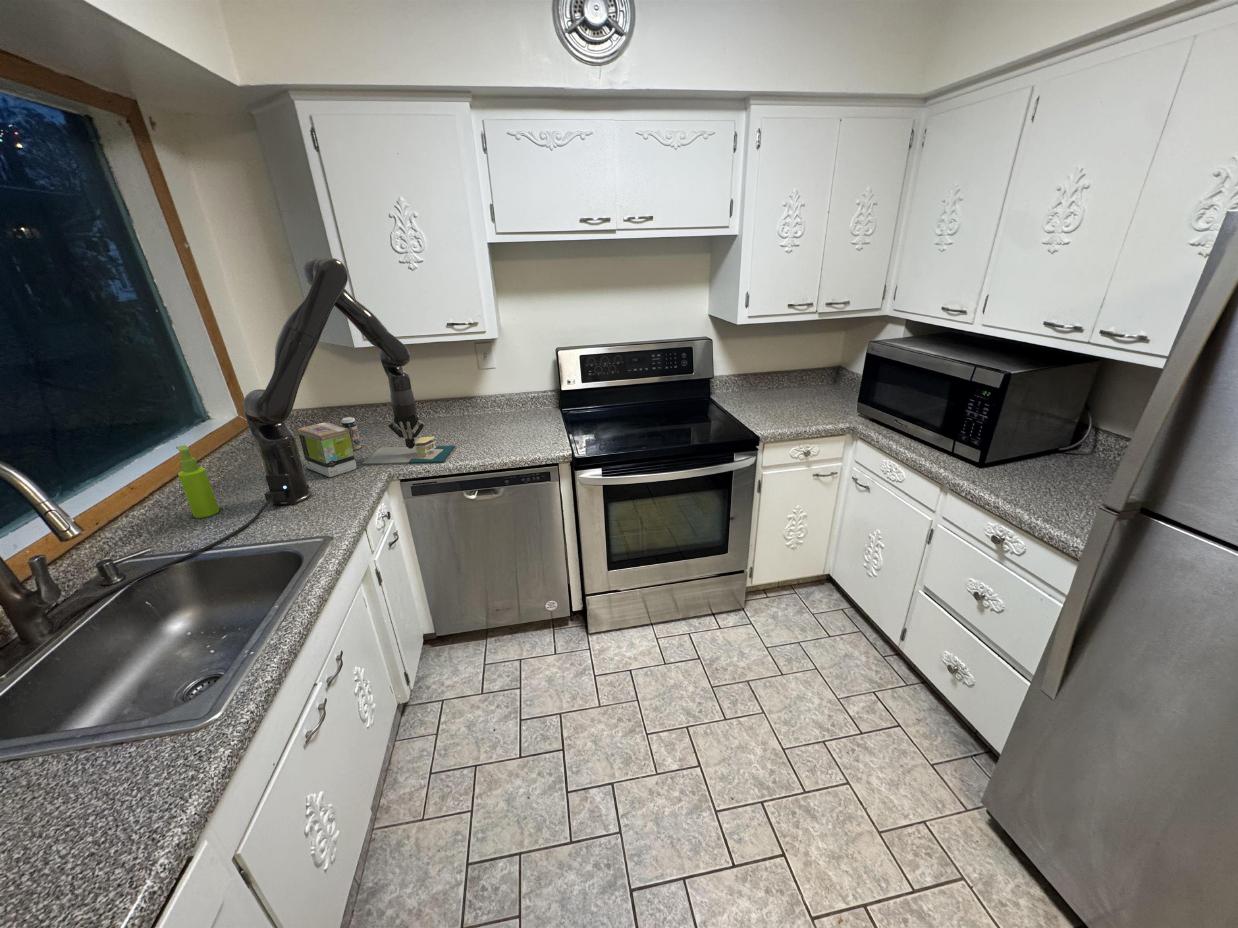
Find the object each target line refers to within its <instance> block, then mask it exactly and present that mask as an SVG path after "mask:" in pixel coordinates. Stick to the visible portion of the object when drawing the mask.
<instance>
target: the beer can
mask: <svg viewBox="0 0 1238 928" xmlns="http://www.w3.org/2000/svg"><path fill="white" fill-rule="evenodd" d="M341 427H344V428H348V430H349V434H350V439H351V443H352V448H353V451H357V450H359V449H361V447H362V444H361V443H362V442H361V440H360V439H361V438H360V435H359V430H358V425H357V420H356V419H355V417H353V416H347V417H343V418H342V419H341Z"/></svg>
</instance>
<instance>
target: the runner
mask: <svg viewBox="0 0 1238 928" xmlns="http://www.w3.org/2000/svg"><path fill="white" fill-rule="evenodd" d="M435 446H436V448H434V449H444V450H443V451H441V452H440V453H439V454H438V455H437V456H435V457H434V458H433V459H411V458H410V457H411V456H412V455H414V454H415V453H416V452H415V451H416V447H415V446H414V447H413V448H411V449H408V447H406V446H386V447H385V446H384V447H383V446H382V447H379V448H378V449H377V450H375V451H374V452H373V453H372V454H370V456H369V457H367V458H366V459H365V460H364V461H363V462H362V463H361V464H362V465H363V466H367V465H368V466H370V465H399V464H400V465H404V464H406V465H407V464H408V465H409V464H442V463H445V461H446V459H447V458H448V457H449V455H450V454H451V453H452V451H453V450H454V448H455V445H435Z"/></svg>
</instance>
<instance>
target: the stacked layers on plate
mask: <svg viewBox="0 0 1238 928" xmlns="http://www.w3.org/2000/svg"><path fill="white" fill-rule="evenodd" d="M434 439H435V437H434V436H421V437H418V438H417V439H416V440H415V442H414V443H415V446H414V447H416V451H415V452H416V453H415V454H414V455H412V456H411V457H410V458H411V459H433V458H434V457H435V456H437V455H438V454H439V453H440V452H441V451H443V450H444V449H434V448H436V446H437V445H435V443H436V440H434Z"/></svg>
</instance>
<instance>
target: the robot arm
mask: <svg viewBox="0 0 1238 928" xmlns="http://www.w3.org/2000/svg"><path fill="white" fill-rule="evenodd" d="M302 273H303V277H304V279H305V281H306V282H307V284H309V286H310V288H309V290H308V293H307V295H306V297H305V298H304V299H303V301H302V302H301V303H300V304H299V305H298V306H297V307H296V309H294V310H293V312H292V313H291V314H290V315H289V316H288V317H287V319H286V320H285V321H284V324H283V325H282V328H281V330H280V332H279V334H278V337H277V338H276V339H277V340H276V343H275V347H274V367H273V371H272V375H271V377H270V379H269V382H268V384H267V386H266V387H265V389H264V388H260V389H259V388H258V389H253V390H252V391H250V392H248V393H247V394H246V395H245V397H244V399H243V403H242V408H243V412H244V417H245V419H246V422H247V425H248V428H249V431H250V434H251V436H252V438H253V439H254V441H255V442H256V444H257V447H258V451H259V453H260V457H261V461H262V463H263V467H264V471H265V474H266V475H265V476H264V477H265V481H266V483H267V487H268V490H267V491H266V492H265V493H263V495H264V497H265V501H266V502H265V504H263V506H262V507H261V508H260V509H259V510H258V512H257V513H256V514H255V515H254V516H253V518H251V519H250V520H249V521H248V522H246V523H245V524H244V525H242V526H240V527H239V528H237V529H236V530H234V531H232V532H231V533H229V534H227V535H226V536H224V537H222V538H220V539H218V540H215V541H214V542H212V543H210V544H208V545H206V546H204V547H202V548H199V549H198V550H194V551H193V552H190V553H188V554H186V555H184V556H181V557H179V558H176V559H173V560H171V561H170V562H168V563H165V564H162V565H160V566H158V567H156V568H154V569H151V570H149V571H146V572H144V573H142V574H140V575H138V576H135V577H133V578H131V579H128V580H127V581H125V582H123V583H120V584H119V585H117V586H115V587H112V588H111V589H109V590H107V591H105V592H103V593H101V594H99V595H98V596H96V597H94V598H92V599H91V600H89V601H87V602H86V603H84V604H82V605H80V606H79V607H76V608H75V609H73V610H70V611H69V612H67V613H65V614H64V615H62V616H61V617H60V618H59V619H58V620H57V622H56V624H54V626H53V628H52V631H51V633H56V632H58V631H59V628H60V627H61V626H62V624H63V623H64V622H65V620H67V619H68V618H69V617H71V616H72V615H75V614H76V613H78V612H80V611H82V610H83V609H84V610H85V609H86V608H87V607H90V605H92V604H94V603H96V602H98V601H99V600H101V599H103V598H105V597H106V596H108V595H110V594H112V593H114V592H117V591H118V590H119V589H122V588H123V587H126V586H128V585H130V584H132V583H134V582H136V581H139V580H141V579H142V578H145V577H147V576H149V575H151V574H153V573H156V572H159V571H161V570H164V569H165V568H167V567H169V566H171V565H172V566H173V565H174V564H177V563H178V562H181V561H184V560H185V559H188V558H190V557H193V556H195V555H197V554H199V553H202V552H204V551H206V550H209V549H210V548H212V547H214V546H217V545H218V544H220V543H222V542H224V541H225V540H228V539H229V538H231V537H233V536H234V535H236V534H238V533H240V532H241V531H242V530H244V529H245V528H247V527H248V526H250V525H251V524H252V523H254V522H255V521H256V520H257V519H258V518H259V517H260V515H261V514H262V513H263V512H264V510H265V509H266V508H267V507H268V505H270V504H271V503H272V504H273V505H274V506H281V505H284V506H285V505H296V504H297V503H300V502H302V501H304V500H306V499H308V498H310V496H311V491H310V490H311V488H310V485H309V483H308V481H307V478H306V474H305V470H304V466H303V462H302V459H301V455H300V450H299V448H298V444H297V440H296V437H295V433H294V432H293V431H292V430H291V429H290V428H289V427H288V425H287V423H286V421H287V420H288V419H289V418H290V416H291V414H292V411H293V409H294V405H295V403H296V399H297V395H298V391H299V389H300V385H301V383H302V380H303V378H304V376H305V374H306V371H307V369H308V366H309V364H310V362H311V360H312V357H313V355H314V353H315V351H316V349H317V347H318V344H319V342H320V340H321V337H322V334H323V332H324V330H325V327H326V325H327V323H328V321H329V318H330V316H331V313H332V311H333V309H334V308H336V309H337V310H338V311H339V312H340V313H341V314H343V316H345V317H346V319H348V320H349V321H350V323H352V325H353V326H354V327H355V328H356V329H357V330H358V331H359V333H361V335H362V336H363V337H364V338H365V339H366V341H368V342H369V344H370V345H372V346H374V347H376V348H378V349H379V360H380V363H381V365H382V368H383V370H384V373H385V375H386V377H387V380H388V386H389V387H388V388H389V391H390V393H389V395H390V401H391V402H390V403H391V407H392V412H393V421H392V422H391V423H390V424H388V428H389V429H390V430H391V431H393V433H394V434H395V435H396V436H398V438H402V439H404V441H405V447H408V449H411V448H413V447H415V445H416V443H414V442H415V441H416V440H415V438H417V437H418V436H419V435H420V433H422V430H423V429H424V428H425V426H426V422H425V421H421V420H420V418H419V417H418V413H417V408H416V407H417V406H416V399H415V394H414V392H413V388H412V382H411V377H410V374H409V373H408V372H407V371H405V370H404V368H403V367H404V366H406V365H408V364H409V363H410V360H411V354H410V351H409V349H408V347H407V346H406V345H405V344H404V343H403V342H402V341H400V340H399V339H398V338H397V337H396V336H395V335H393V334H392V333H391V332H390V331H389V329H388V328H387V327H386V326H385V325H384V324H383V323H382V321H381V320H380V319H379V318H378V317H377V315H375V314H374V313H373V312H372V311H371V310H369V308H367V307H366V306H365V305H363V304H362V303H361V302H360V301H358V300H357V298H354V296H353V295H352V294H351V293H349V291H348V290H347V289H346V287H347V284H348V280H349V272H348V269H347V267H346V265H345V264H344V263H343V261H341V260H339V259H337V258H334V257H313V258H310V259H308V260H307V261H306V262H305V263H304V264H303V268H302ZM416 426H417V428H416ZM415 428H416V430H415Z"/></svg>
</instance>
